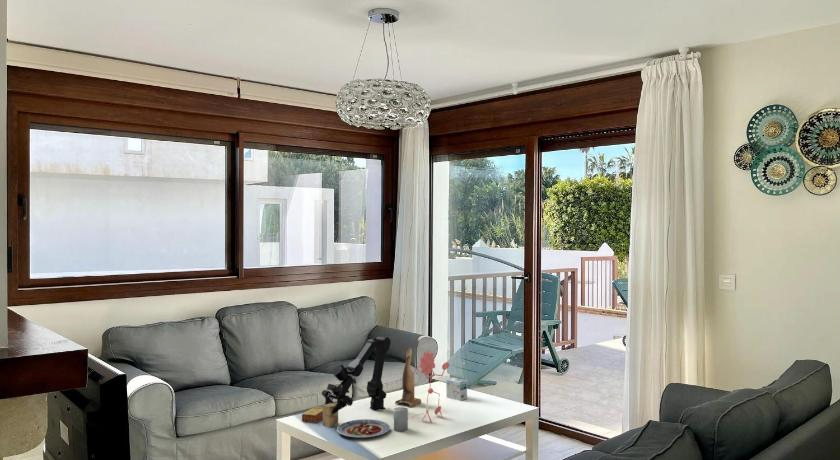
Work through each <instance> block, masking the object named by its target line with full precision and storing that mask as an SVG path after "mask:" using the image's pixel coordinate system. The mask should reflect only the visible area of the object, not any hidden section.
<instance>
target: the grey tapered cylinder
mask: <svg viewBox="0 0 840 460" xmlns="http://www.w3.org/2000/svg"><path fill="white" fill-rule="evenodd" d="M408 413H409V410H408V408H407V407H403V406H402V407H400V406H398V407H395V408H393V431H394V432H398V433H399V432H400V433H403V432H407V431H408V430H409V420H408V419H409V418H408V416H409V414H408Z"/></svg>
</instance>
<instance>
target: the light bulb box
mask: <svg viewBox="0 0 840 460" xmlns="http://www.w3.org/2000/svg"><path fill="white" fill-rule="evenodd" d="M445 383H446V385H445V386H446V395H445V396H446V398H447V399H451V400H456V401H463V400H467V399H468V380H467V379H461V378H457V377H450V378H447V379H446V381H445Z"/></svg>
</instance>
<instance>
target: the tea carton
mask: <svg viewBox="0 0 840 460" xmlns="http://www.w3.org/2000/svg"><path fill="white" fill-rule="evenodd" d="M336 404H337V403H329V404H326V405H325V404H323V405H322V406H323V418H322V426H325V427H328V428H331V427H334V426H337V425H339V411H337V412H336V413H334V414H332V411H333V409H334V407H335V406H336Z"/></svg>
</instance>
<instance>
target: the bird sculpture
mask: <svg viewBox="0 0 840 460" xmlns="http://www.w3.org/2000/svg"><path fill="white" fill-rule="evenodd" d="M412 354H413V350H412V348H411V347H408V348H407V351H406V352H405V357H404V358H405V359H406V360H405V364H404V367H403V373H402V383H401V384H402V385H401V386H402V396H401V398H399V399H397V400H395V402H394V403H395V404H396V405H397V404H399V403H405V404H408V405H409V406H410V408H413V407H415V406H418V405H420V404H422V400H421V398H417V397H415V374H414V373H413V372H414V371H412V369H411V366H412V365H411V364H412V363H411V362H412ZM412 373H413V374H412ZM411 374H412V375H411Z"/></svg>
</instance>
